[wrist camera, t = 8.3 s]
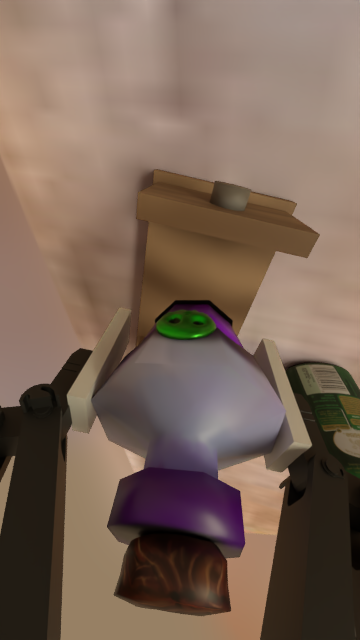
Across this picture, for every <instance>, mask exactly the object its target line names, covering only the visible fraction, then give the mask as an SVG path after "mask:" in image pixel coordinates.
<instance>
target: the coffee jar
mask: <svg viewBox="0 0 360 640" xmlns="http://www.w3.org/2000/svg"><path fill="white" fill-rule="evenodd" d="M285 372H286V375H287V378H288V380H289V383H290V386H291V389H292V391H293V393H297V394H301V395H302V396H303V397H304V399H305V400H306V401H307V402H308V404H309V406H310V409H311V411H312V415H313V416H314V418H315V422H316V423H317V426H318V428H319V431H320V433H321V435H322V438H323V440H324V443H325V445H326V448H327V450H328V452H329V454H331V455H332V456H334V457H335V458H336V459H337V460H338V461H339V462H340V463H341V464H342V466H343V467H344V469H345V471H347V472H349V473H350V474H352V475H354V476H356V477H358V478H360V390H359V388H358V386H357V384H356V383H355V381H354V380H353V378H352V376H351V375H350V373H349V372H348V371H347V370H345V369H344V368H342V367H339V366H335V365H331V364H326V363H313V362H312V363H306V364H299V365H296V366H293V367H290V368H288V369H287V370H286V371H285ZM355 640H357V636H356V631H355Z"/></svg>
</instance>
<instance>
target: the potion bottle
mask: <svg viewBox="0 0 360 640" xmlns="http://www.w3.org/2000/svg"><path fill="white" fill-rule="evenodd" d="M232 324H233V320H232V319H231V318H229V317H228V316H227V315H226V314H225V313H224V312H223V311H222V310H220V309H219V308H218V307H217V306H216V305H215V304H214V303H212V302H211V301H210V300H175V301H174V302H173V303H172V304H171V305H170V306H169V307H168V308H166V309H165V310H164V311H163V312H162V313H161V314H160V315H159V316H158V317H157V318H156V319H155V325H154V326H153V327H152V329H151V330H150V331H149V333H148V334H147V335H146V337H145V338H144V339H143V340H142V342H141V343H140V344H139V345H138V346H137V347H136V348H135V349H134V350H132V351H131V352H130V353H129V354H128V355H126V356H125V357H124V359H123V360H122V361H121V362H120V364H119V365H118V366H117V367H116V369H115V370H114V371H113V372H112V374H111V375H110V376H109V378H108V379H107V380H106V381H105V383H104V384H103V385H102V386H101V388H100V389H99V390H98V391H97V393H96V394H95V395H94V396H93V398H92V399H91V402H92V404H93V407H94V409H95V411H96V413H97V416H98V418H99V420H100V422H101V424H102V427H103V429H104V431H105V433H106V435H107V438H108V440H109V441H111V442H113V443H115V444H117V445H119V446H121V447H123V448H125V449H127V450H129V451H131V452H133V453H135V454H137V455H139V456H141V457H143V458H145V459H146V460H145V465H144V469H143V470H141V471H139V472H136V473H134V474H132V475H130V476H127V477H125V478H122V479H120V481H119V485H118V489H117V493H116V496H115V499H114V503H113V507H112V510H111V514H110V518H109V521H108V525H107V528H108V529H109V530H110V531H111V533H112V534H113V535H114V536H115V538H116V539H117V540H118V541H119V542H121V543H124V544H127V545H129V546H128V548H127V551H126V553H125V555H124V558H123V564H122V568H121V573H120V577H119V580H118V583H117V586H116V589H115V592H114V596H116V597H119V598H120V599H123V600H125V601H127V602H129V603H131V604H133V605H135V606H138V607H142V608H148V609H157V610H162V611H167V612H174V613H180V614H188V615H196V616H205V615H211V614H218V613H224V612H230V611H231V606H230V598H229V592H228V591H229V590H228V578H227V560H226V559H225V558H235V557H240V555H241V552H242V550H243V547H244V545H245V537H244V527H243V516H242V506H241V496H240V491H239V490H237V489H235V488H233V487H231V486H229V485H227V484H226V483H224V482H222V481H220V480H218V470H221V469H224V468H227V467H230V466H233V465H236V464H239V463H242V462H245V461H248V460H251V459H254V458H257V457H260V456H263V455H266V454H269V453H271V452H272V449H273V447H274V444H275V441H276V438H277V436H278V433H279V430H280V427H281V424H282V422H283V419H284V416H285V413H286V410H285V408H284V406H283V405H282V403H281V401H280V399H279V398H278V396H277V394H276V393H275V391H274V389H273V388H272V386H271V384H270V383H269V381H268V379H267V377H266V376H265V374H264V372H263V371H262V369H261V367H260V366H259V364H258V362H257V361H256V359H255V357H254V356H253V355H251V354H250V353H249V352H247V351H246V350H245V349H244V348H243V346H242V344H241V343H240V341H239V339H238V337H237V335H236V334H235V332H234V330H233V328H232Z"/></svg>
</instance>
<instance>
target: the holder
mask: <svg viewBox="0 0 360 640" xmlns="http://www.w3.org/2000/svg"><path fill="white" fill-rule="evenodd" d="M296 205H297V203H295V202H293V201H289V200H285V199H281V198H277V197H272V196H268V195H264V194H260V193H255V192H251V190H250V189H248V188H245V187H241V186H237V185H234V184H229V183H225V182H219V181H215V182H214V183H213V182H209V181H205V180H201V179H196V178H192V177H188V176H184V175H179V174H175V173H171V172H167V171H162V170H158V169H157V170H154V177H153V186H150V187H148V188H146V189H144V190H142V191H140V192H138V202H137V216H136V219H140V220H144V221H148V222H149V225H148V234H147V244H146V253H145V263H144V273H143V282H142V292H141V301H140V311H139V321H138V330H137V340H136V347H137V346H138V345H139V344H140V343H141V342H142V340H143V339H144V338H145V337H146V335H147V334H148V333H149V331H150V330H151V329H152V327H153V326H154V325H155V319H156V318H157V317H158V316H159V315H160V314H161V313H162V312H163V311H164V310H165V309H166V308H168V307H169V306H170V305H171V304H172V303H173V302H174V301H175V300H210V301H211V302H212V303H214V304H215V305H216V306H217V307H218V308H219V309H220V310H222V311H223V312H224V313H225V314H226V315H227V316H228V317H229V318H231V319H232V320H233V324H232V328H233V330H234V332H235V334H236V335H237V336H238V334H239V331H240V329H241V327H242V325H243V323H244V320H245V318H246V316H247V314H248V311H249V309H250V307H251V305H252V303H253V300H254V298H255V296H256V294H257V292H258V289H259V287H260V285H261V283H262V280H263V278H264V276H265V274H266V272H267V269H268V267H269V265H270V263H271V260H272V258H273V256H274V254H275V252H276V251H279V252H283V253H287V254H292V255H296V256H300V257H305V258H308V256H309V254H310V252H311V250H312V248H313V247H314V245H315V243H316V241H317V239H318V237H319V236H320V234H318V233H317V232H315V231H314V230H312V229H311V228H310V227H308V226H307V225H305V224H304V223H302V222H301V221H299V220H298V219H296V218H295V217H293V216H292V214H293V212H294V209H295V207H296Z"/></svg>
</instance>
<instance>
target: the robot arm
mask: <svg viewBox="0 0 360 640" xmlns="http://www.w3.org/2000/svg"><path fill="white" fill-rule="evenodd" d="M130 322H131V310H130V309H125V308H121V307H119V309H118V311H117V312H116V314H115V316H114V317H113V319H112V321H111V322H110V324H109V326H108V327H107V329H106V331H105V332H104V334H103V336H102V337H101V339H100V341H99V342H98V344H97V346H96V347H95V349H94V351H91V350H86V349H82V348H80V349H79V350H77V351H76V352H74V353H73V354H72V355H71V356H70V357H69V359H68V360H67V362H66V363H65V365H64V366H63V367H62V370H60V372H59V373H58V375H57V376H56V377H55V379H54V380H53V381H52V383H51V384H39V385H35V386H33V387H31V388H29V389H28V390H27V391H25V392H24V393H23V394H22V395H21V398H20V400H19V402H20V405H21V406H16V407H6V408H1V406H0V482H1V479H2V477H3V475H4V473H5V471H6V468H7V466H8V464H9V462H10V460H11V457H12V456H15V461H14V466H13V471H12V476H11V481H10V487H9V492H8V497H7V502H6V508H5V513H4V518H3V523H2V529H1V534H0V640H60V634H61V606H62V577H63V549H64V519H65V491H66V462H67V432H68V430H69V429H70V427H71V425H72V430H74V431H79V432H84V433H89V432H90V429H91V427H92V425H93V423H94V420H95V418H96V416H97V413H96V411H95V409H94V407H93V404H92V402H91V399H92V398H93V396H94V395H95V394H96V393H97V391H98V390H99V389H100V388H101V386H102V385H103V384H104V383H105V381H106V380H107V379H108V378H109V376H110V375H111V374H112V372H113V371H114V370H115V369H116V367H117V366H118V365H119V363H120V361H121V359H122V356H123V354H124V352H125V349H126V347H127V345H128V343H129V334H130ZM253 356H254V357H255V359H256V361H257V362H258V364H259V366H260V367H261V369H262V371H263V372H264V374H265V376H266V377H267V379H268V381H269V383H270V384H271V386H272V388H273V389H274V391H275V393H276V394H277V396H278V398H279V399H280V401H281V403H282V405H283V406H284V408H285V410H286V413H285V416H284V419H283V422H282V424H281V427H280V430H279V433H278V436H277V438H276V441H275V444H274V447H273V449H272V452H271V453H269V454H266V455H264V458H265V463H266V469H267V470H272V471H277V472H283V471H284V470H285V469H286V468H288V469H289V473H290V476H289V477H288V478H287V479H285V480H284V481H283V482H282V483H281V484H280V486H279V488H280V489H282V488H283V487H284V486H285V492H284V498H283V504H282V510H281V516H280V522H279V528H278V534H277V540H276V546H275V553H274V559H273V565H272V571H271V577H270V583H269V589H268V595H267V601H266V607H265V613H264V619H263V625H262V632H261V638H260V640H355V631H356V636H357V640H360V478H358V477H356V476H354V475H352V474H350V473H349V472H347V471H345V469H344V467H343V466H342V464H341V463H340V462H339V461H338V460H337V459H336V458H335V457H334V456H332V455H331V454H329V452H328V450H327V448H326V445H325V443H324V440H323V438H322V435H321V433H320V431H319V428H318V426H317V423H316V422H315V418H314V416H313V415H312V411H311V409H310V406H309V404H308V402H307V401H306V400H305V399H304V397H303V396H302V395H301V394H297V393H293V391H292V389H291V386H290V383H289V380H288V378H287V375H286V372H285V370H284V367H283V364H282V361H281V359H280V356H279V353H278V350H277V348H276V345H275V342H274V341H272V340H267V339H262V341H261V342H260V344H259V346H258V348H257V350H256V352H255V354H254V355H253Z"/></svg>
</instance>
